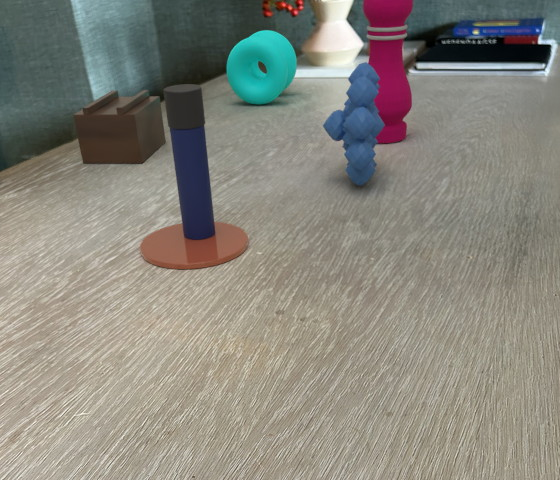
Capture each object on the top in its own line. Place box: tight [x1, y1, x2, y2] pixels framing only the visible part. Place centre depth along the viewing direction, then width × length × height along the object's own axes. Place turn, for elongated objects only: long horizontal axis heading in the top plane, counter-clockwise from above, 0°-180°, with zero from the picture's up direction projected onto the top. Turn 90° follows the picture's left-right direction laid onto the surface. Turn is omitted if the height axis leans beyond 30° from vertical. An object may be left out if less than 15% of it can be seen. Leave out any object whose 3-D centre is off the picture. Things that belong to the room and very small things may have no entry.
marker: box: [163, 83, 215, 240], centre depth 60 cm, size 13×3×3 cm
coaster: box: [139, 221, 249, 270], centre depth 62 cm, size 10×10×1 cm
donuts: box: [226, 29, 298, 106], centre depth 110 cm, size 10×10×10 cm
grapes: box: [322, 61, 385, 186], centre depth 73 cm, size 12×7×12 cm, turn 171°
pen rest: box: [72, 89, 167, 165], centre depth 88 cm, size 10×8×7 cm
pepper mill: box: [362, 0, 414, 144], centre depth 85 cm, size 7×7×20 cm
